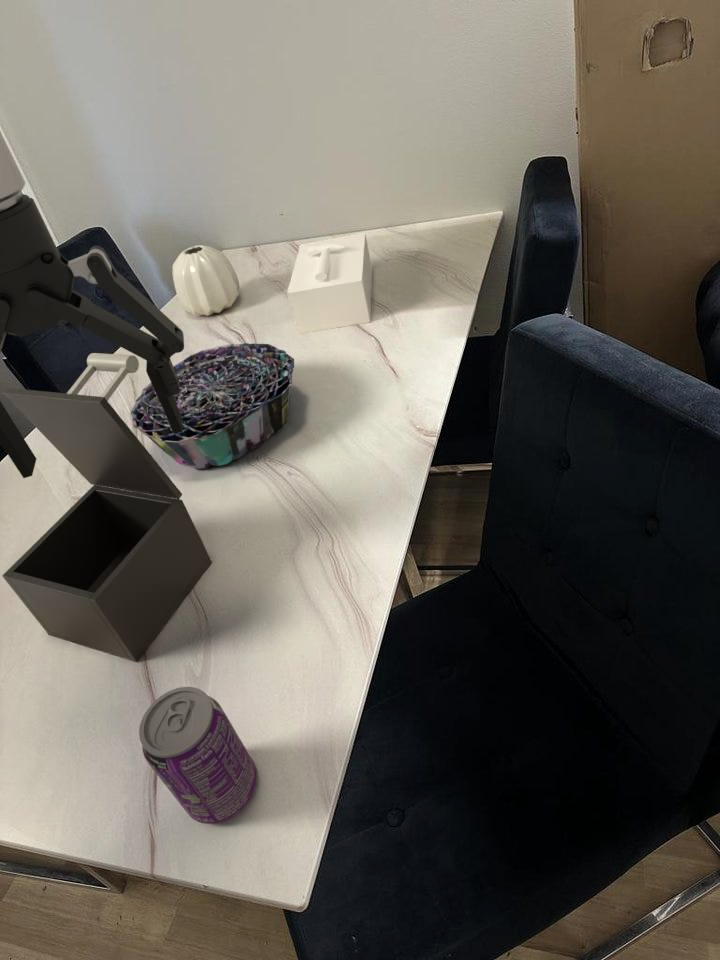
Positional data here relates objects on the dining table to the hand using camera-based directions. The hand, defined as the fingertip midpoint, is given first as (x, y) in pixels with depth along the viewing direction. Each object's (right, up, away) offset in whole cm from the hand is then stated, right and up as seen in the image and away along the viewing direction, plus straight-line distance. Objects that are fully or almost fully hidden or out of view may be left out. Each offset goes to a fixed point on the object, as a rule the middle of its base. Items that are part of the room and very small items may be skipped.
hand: (104, 447), depth 60 cm
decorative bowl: (+2, +5, +50) cm, 50 cm away
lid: (-7, +1, +15) cm, 17 cm away
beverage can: (+10, -32, +2) cm, 33 cm away
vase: (-10, +36, +90) cm, 97 cm away
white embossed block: (+18, +35, +80) cm, 89 cm away
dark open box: (-6, -18, +24) cm, 30 cm away
